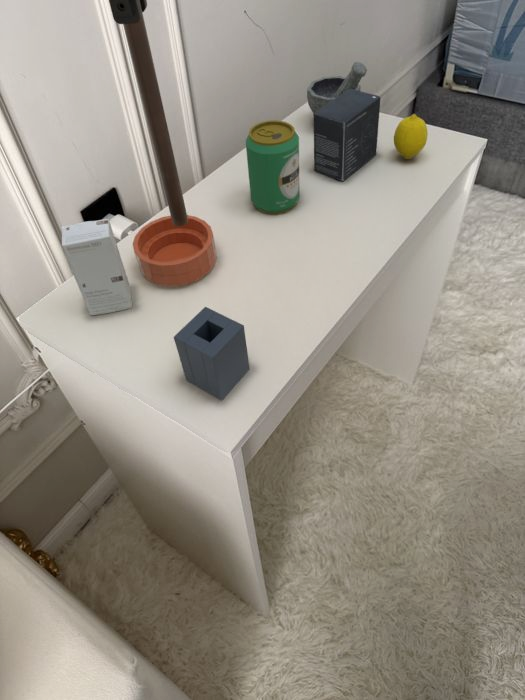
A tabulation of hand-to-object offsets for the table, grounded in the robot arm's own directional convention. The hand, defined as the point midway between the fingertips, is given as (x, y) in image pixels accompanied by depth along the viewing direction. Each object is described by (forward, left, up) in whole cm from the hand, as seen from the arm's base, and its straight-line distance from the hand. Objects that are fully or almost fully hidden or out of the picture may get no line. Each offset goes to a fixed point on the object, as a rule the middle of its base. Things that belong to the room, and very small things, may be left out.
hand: (131, 16), depth 44 cm
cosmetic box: (-13, +2, -36) cm, 38 cm away
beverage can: (+10, +25, -36) cm, 45 cm away
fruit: (+33, +37, -36) cm, 61 cm away
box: (+22, +36, -36) cm, 55 cm away
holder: (+4, -11, -36) cm, 37 cm away
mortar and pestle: (+21, +50, -36) cm, 65 cm away
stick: (0, 0, -21) cm, 21 cm away
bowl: (-4, +10, -36) cm, 37 cm away
